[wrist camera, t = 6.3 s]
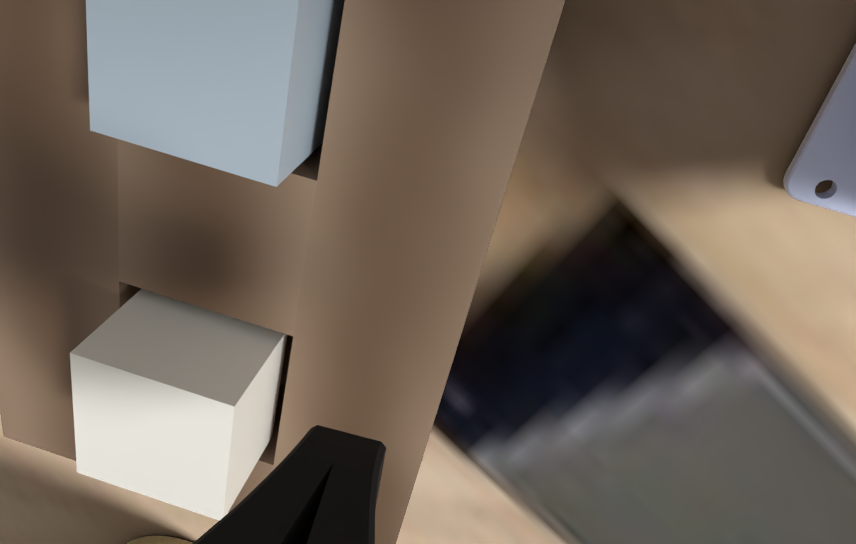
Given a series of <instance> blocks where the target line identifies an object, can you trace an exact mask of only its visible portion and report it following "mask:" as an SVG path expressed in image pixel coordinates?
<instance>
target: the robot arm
mask: <svg viewBox="0 0 856 544" xmlns="http://www.w3.org/2000/svg"><path fill="white" fill-rule="evenodd" d="M824 180H832V181H833V183H832V187H831V188H830V189H829V190H828V191H826V192H823V193H816V192H814V191H815V187H816V186H817V185H818V184H819V182H822V181H824ZM783 184H784V188H785V189H786V191H787V192H788V194H789V195H790V196H791V197H792V198H794V199H796V200H799V201H802V202H806V203H809V204H812V205H816V206H819V207H823V208H826V209H830V210H833V211H837V212H840V213H844V214H847V215H850V216H854V217H856V43H855V45H854V47H853V49H852V50H851V52H850V54H849V56H848V58H847V60H846V62H845V63H844V65H843V67H842V69H841V71H840V73H839V75H838V76H837V78H836V80H835V82H834V84H833V86H832V88H831V89H830V91H829V93H828V95H827V97H826V99H825V101H824V102H823V104H822V106H821V108H820V110H819V112H818V114H817V115H816V117H815V119H814V121H813V123H812V125H811V127H810V128H809V130H808V132H807V134H806V136H805V138H804V140H803V141H802V143H801V145H800V147H799V149H798V151H797V153H796V154H795V156H794V158H793V160H792V162H791V164H790V166H789V167H788V169H787V171H786V173H785V176H784V179H783ZM385 453H386V447H385V446H384V444H383V443H382V442H381V441H377V440H373V439H370V438H366V437H362V436H358V435H354V434H350V433H347V432H343V431H339V430H335V429H331V428H328V427H324V426H320V425H316V426H314V427H312V428H311V429H310V430H309V431H308V432H307V433H306V435H305V436H304V437H303V438H302V439H301V441H300V442H299V443H298V444H297V445H296V446H295V448H294V449H293V450H292V451H291V452H290V453H289V454H288V455H287V456H286V457H285V458H284V460H283V461H282V462H281V463H280V464H279V465H278V466H277V467H276V468H275V469H274V470H273V471H272V472H271V473H270V474H269V475H268V476H267V477H266V478H265V479H264V480H263V481H262V482H261V483H260V484H259V485H258V486H257V487H256V488H255V489H254V490H253V491H252V492H250V493H249V494H248V495H247V496H246V497H245V498H244V499H243V500H242V501H241V502H240V503H239V504H238V505H237V506H236V507H235V508H234V509H232V510H231V511H230V512H229V513H228V514H227V515H225V516H224V517H223V518H222V519H221V520H220V521H219V522H217V523H216V524H215V525H214V526H213V527H212V528H210V529H209V530H208V531H207V532H206V533H205V534H203V535H202V536H201V537H200V538H199V539H198V540H196V541H195V542H194V543H193V544H375V508H376V503H377V497H378V492H379V486H380V481H381V475H382V469H383V464H384V458H385Z"/></svg>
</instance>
